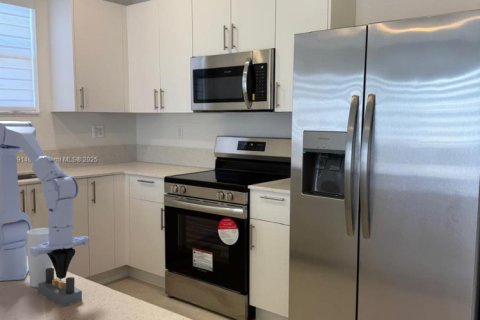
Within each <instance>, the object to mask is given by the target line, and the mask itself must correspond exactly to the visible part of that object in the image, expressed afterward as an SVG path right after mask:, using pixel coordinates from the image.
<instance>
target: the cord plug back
mask: <svg viewBox="0 0 480 320" xmlns="http://www.w3.org/2000/svg"><path fill="white" fill-rule="evenodd" d="M53 279H55V269H54V267H52V268H47V269H46V283H47V284H50V283H52V280H53Z"/></svg>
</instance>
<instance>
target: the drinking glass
mask: <svg viewBox="0 0 480 320" xmlns="http://www.w3.org/2000/svg"><path fill="white" fill-rule="evenodd" d="M46 242H49V227H37V228H35V227H34V228H32V229H31V230H28V231H27V237H26V244H25V245H26V248H27V267H29V271H28V275H29V286H30V287H31V288H37V289H38V284H39V283H42V282H46V269H47V268H53V263H52V261H51V259H50V258H49V256H48V255H47V253H45V254H41V255H39V256H37V257H34V256H31V254H30V248H31V247H35V246H38V245H41V244H43V243H46Z"/></svg>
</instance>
